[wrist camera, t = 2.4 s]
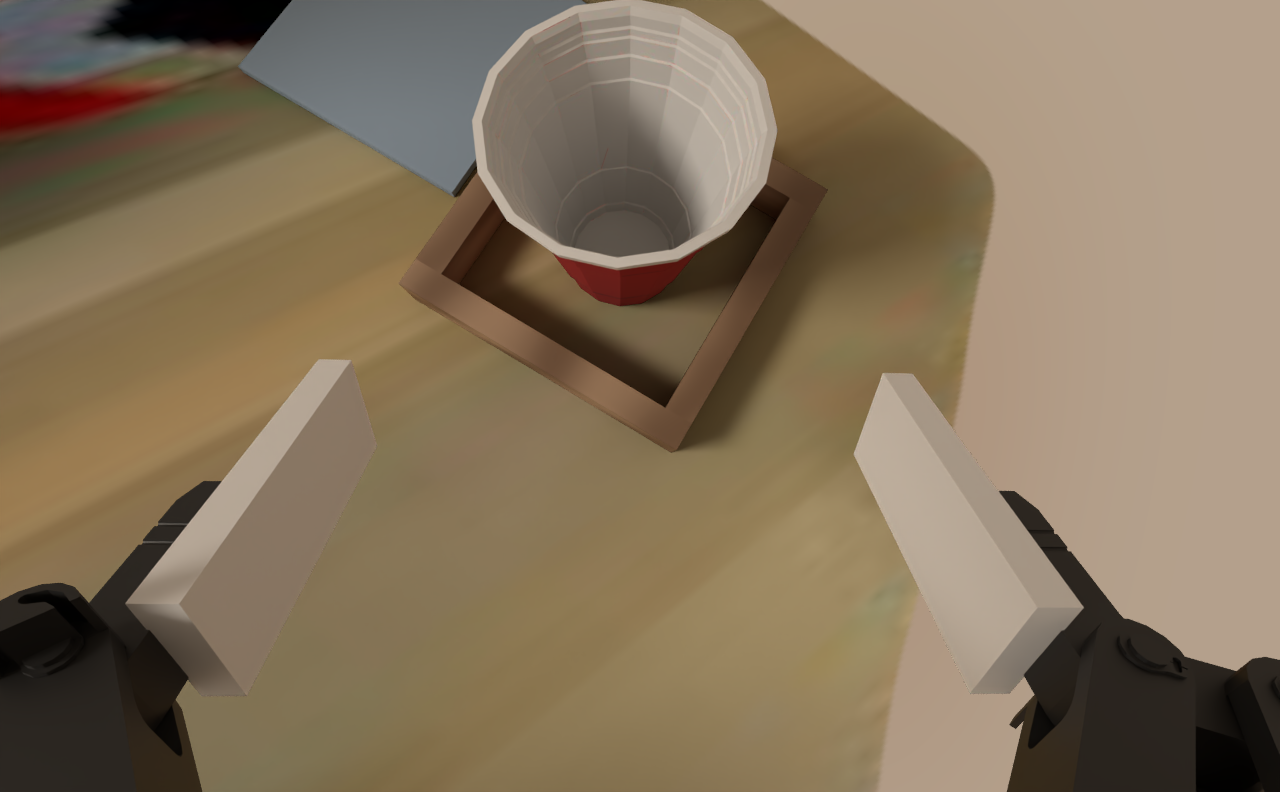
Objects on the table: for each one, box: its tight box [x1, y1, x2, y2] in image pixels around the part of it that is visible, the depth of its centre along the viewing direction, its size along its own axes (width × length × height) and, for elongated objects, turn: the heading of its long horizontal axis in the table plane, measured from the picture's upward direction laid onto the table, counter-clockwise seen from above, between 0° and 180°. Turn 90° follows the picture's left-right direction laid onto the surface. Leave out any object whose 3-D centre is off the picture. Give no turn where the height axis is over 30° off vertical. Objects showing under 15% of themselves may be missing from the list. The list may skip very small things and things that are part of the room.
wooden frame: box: [399, 158, 828, 452], centre depth 30 cm, size 16×16×2 cm
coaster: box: [238, 0, 586, 197], centre depth 33 cm, size 14×14×1 cm
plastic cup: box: [472, 0, 777, 306], centre depth 26 cm, size 11×11×12 cm
